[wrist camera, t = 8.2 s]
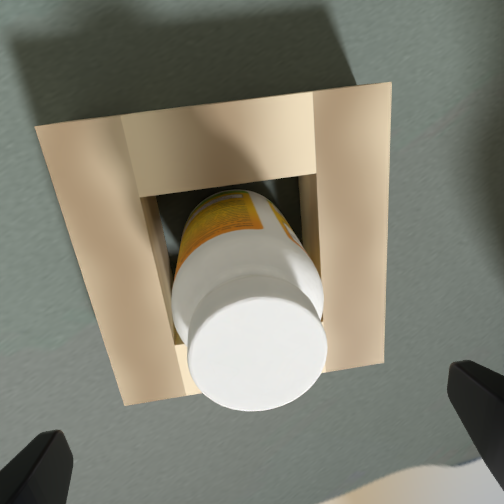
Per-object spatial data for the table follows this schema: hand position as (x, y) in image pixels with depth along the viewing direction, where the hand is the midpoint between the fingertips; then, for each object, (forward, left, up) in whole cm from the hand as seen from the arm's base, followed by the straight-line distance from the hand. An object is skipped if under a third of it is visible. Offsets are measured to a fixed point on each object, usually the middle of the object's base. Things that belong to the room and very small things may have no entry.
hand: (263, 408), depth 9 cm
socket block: (0, 0, -12) cm, 12 cm away
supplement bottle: (0, 0, -12) cm, 12 cm away
